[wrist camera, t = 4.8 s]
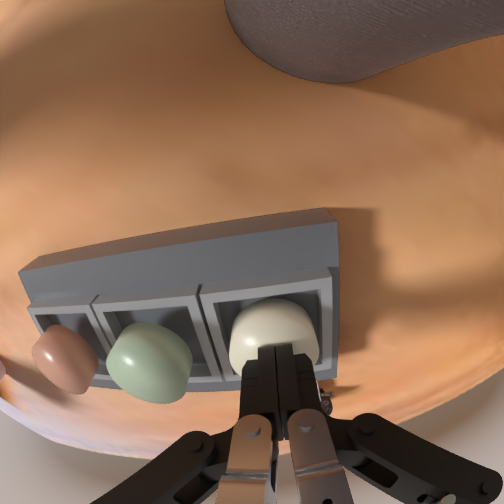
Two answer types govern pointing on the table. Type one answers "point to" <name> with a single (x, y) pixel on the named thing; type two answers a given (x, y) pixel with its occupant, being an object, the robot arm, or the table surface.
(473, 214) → the table surface
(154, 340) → the sage button
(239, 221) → the console
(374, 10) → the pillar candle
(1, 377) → the smoothie
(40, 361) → the terracotta button
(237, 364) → the cream button
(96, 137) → the table surface
